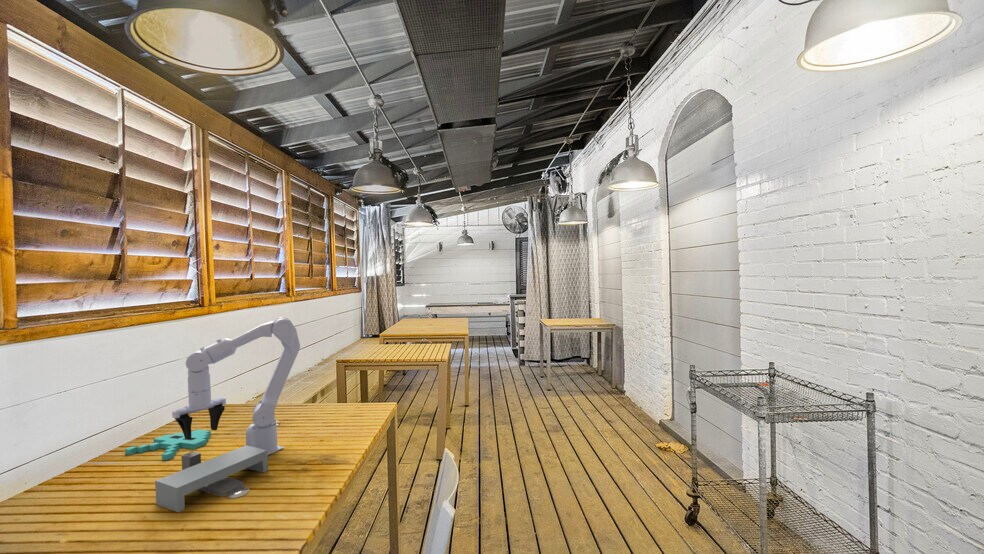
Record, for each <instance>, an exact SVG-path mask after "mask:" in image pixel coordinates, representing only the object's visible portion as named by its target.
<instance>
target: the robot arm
mask: <svg viewBox="0 0 984 554" xmlns="http://www.w3.org/2000/svg"><path fill="white" fill-rule="evenodd" d="M272 334H273V335H274V336H275V338H276V339H278V340H279V342H281V345H282V346H283V350H282V352H281V355H280V357H279V359H278V361H277V363H276V366H275V369H274V371H273V373H272V375H271V378H270V380H269V382H268V383H267V387H266V388H265V391H264V393H263V395H262V396H261V398H260V400H259V402H258V403H256V404H255V405H254V408H253V410H252V411H253V414H252V419H251V420H252V422H253V423H251V424H249V426H248V427H247V428H246V431H245V446H246V445H247V446H251V447H255V448H260V449H264V450H267V454H268V456H269V455H272V454H273V453H276V452H278V451H281V450H282V449H284V446H281V445H278V428H277V427H278V425H277V423H276V422H277V421H278V420H277V419H276V418H275V417H276V416H275V412H276V411H275V410H276V408H277V405H278V401H279V398H280V396H281V394H282V391H283V388H284V386H285V384H286V382H287V380H288V377H289V375H290V373H291V370H292V368H293V366H294V364H295V360H297V359H296V358H297V356H298V354H299V351H300V348H301V343H300V339H299V336H298V331H297V328H296V327H295V325H294V324H293V322H292V321H291V319H289V318H287V317H278V318H277V319H275V320H271V321H268V322H265V323H262V324H260V325H258V326H256V327H254V328H251V329H250V330H248V331H246V332H244V333H242V334H240V335H238V336H236V337H234V338H232V339H231V338H227V337H225V338H218V339H216V342H214V343H213V344H210V345H208V346H206V347H205V346H202V347H201V348H199V350H196V351H194V352H193V353H191V354H190V355H189V356H188V357H187V358H186V360H185V365H186V366H185V367H186V368H187V393H188V394H187V396H188V397H187V398H188V405H187V406H184V407H181V408H178V409H176V410H172V418H174V420H175V421H176V423H177V424H178V425H179V427H180V429H181V431H182V433H183V434H184V437H185V439H191V432H192V422H193V416H190V414H194V413H197V412H202V411H204V410H208V414H209V419H210V422H209V423H210V431H211V430H212V431H217V430H218V426H219V422H220V419H221V417H222V415H223V413H224V411H225V410H226V409H225V405H226V403H227V402H226V398H225V397H219V398H216V399H212V393H211V392H212V390H211V373H210V367H209V365H211V364H213V365H214V364H216V363H218V362H221V361H223V360H224V359H226V358H227V359H228V357H230V356H233V355H235V353H236V351H237V349H238V348H240V347H242V346H245V345H246V344H249V343H251V342H253V341H255V340H257V339H260V338H264V337H265V338H272V337H273V335H272Z"/></svg>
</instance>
